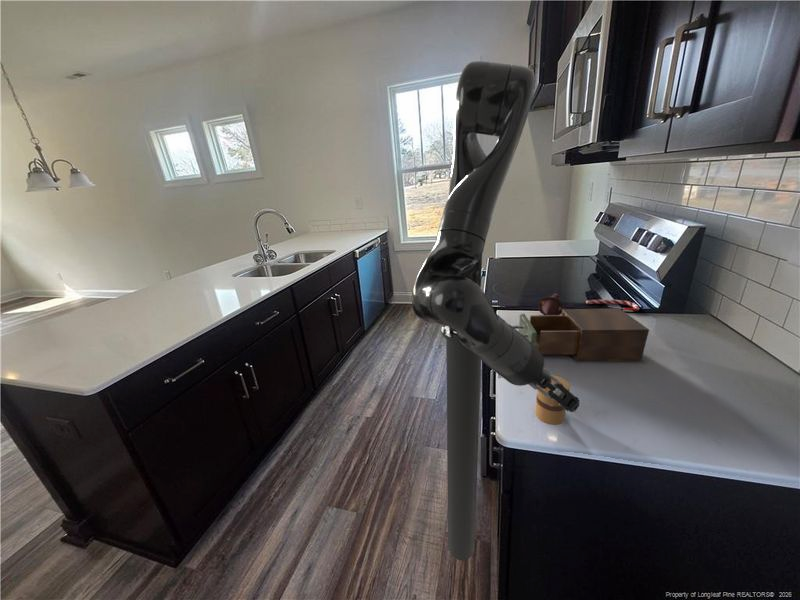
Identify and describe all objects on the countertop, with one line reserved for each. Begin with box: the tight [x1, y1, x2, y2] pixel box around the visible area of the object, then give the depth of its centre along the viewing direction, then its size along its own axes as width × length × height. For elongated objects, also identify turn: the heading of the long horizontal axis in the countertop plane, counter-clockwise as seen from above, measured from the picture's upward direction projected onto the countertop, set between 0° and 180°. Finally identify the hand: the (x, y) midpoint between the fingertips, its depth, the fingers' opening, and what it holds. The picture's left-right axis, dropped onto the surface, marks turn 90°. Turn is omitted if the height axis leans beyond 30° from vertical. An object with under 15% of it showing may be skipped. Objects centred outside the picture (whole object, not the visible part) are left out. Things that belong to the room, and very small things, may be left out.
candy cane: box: [585, 299, 640, 313], centre depth 106 cm, size 8×1×15 cm
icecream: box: [537, 293, 564, 315], centre depth 101 cm, size 7×7×15 cm
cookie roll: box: [534, 374, 571, 426], centre depth 60 cm, size 5×5×8 cm
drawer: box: [508, 313, 580, 355], centre depth 83 cm, size 18×11×7 cm, turn 84°
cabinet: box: [561, 307, 650, 362], centre depth 81 cm, size 15×13×9 cm
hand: (556, 392), depth 60 cm, fingers open, 8 cm apart
